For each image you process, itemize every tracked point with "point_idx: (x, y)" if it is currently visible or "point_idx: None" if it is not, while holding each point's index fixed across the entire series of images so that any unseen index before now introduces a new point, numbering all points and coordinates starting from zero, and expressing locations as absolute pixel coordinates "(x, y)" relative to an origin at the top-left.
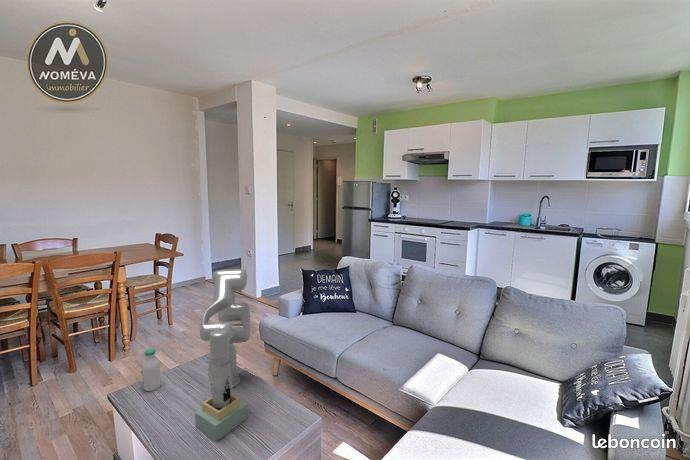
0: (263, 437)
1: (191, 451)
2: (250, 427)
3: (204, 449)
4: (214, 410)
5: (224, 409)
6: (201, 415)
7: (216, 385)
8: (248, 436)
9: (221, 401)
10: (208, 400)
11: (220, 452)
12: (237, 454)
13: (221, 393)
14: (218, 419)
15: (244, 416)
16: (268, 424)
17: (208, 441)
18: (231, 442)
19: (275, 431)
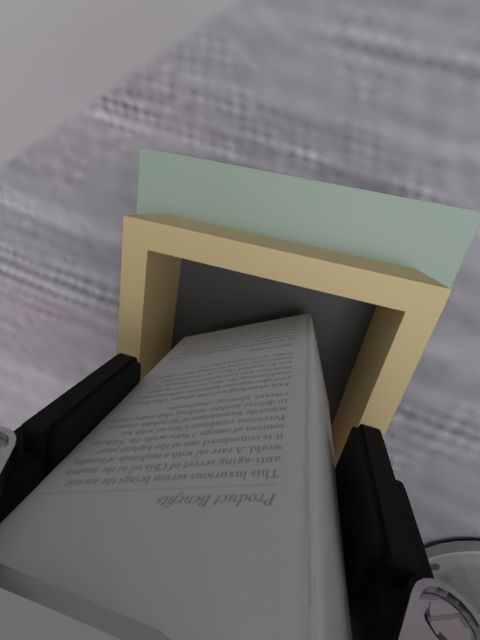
0: (20, 294)
1: (285, 4)
2: (112, 328)
3: (215, 73)
4: (194, 233)
5: (121, 292)
6: (373, 203)
7: (13, 630)
8: (77, 273)
9: (194, 362)
10: (393, 354)
11: (114, 108)
12: (32, 144)
13: (132, 433)
14: (162, 214)
15: None
16: (59, 369)
17: (241, 144)
18: (117, 202)
19: (7, 342)
